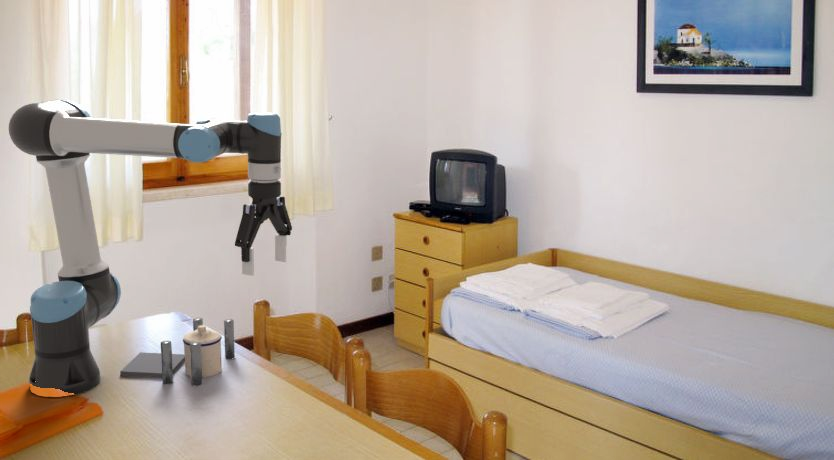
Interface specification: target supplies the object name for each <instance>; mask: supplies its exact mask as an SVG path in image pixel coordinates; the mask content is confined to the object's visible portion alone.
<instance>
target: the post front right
mask: <svg viewBox="0 0 834 460" xmlns="http://www.w3.org/2000/svg"><path fill="white" fill-rule="evenodd" d="M190 356H191V376H190V377H191V386H194V387H198V386H201V385H202V384H203V378H202V364H201V343H200V342H193V343H190Z"/></svg>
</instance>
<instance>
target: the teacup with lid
mask: <svg viewBox="0 0 834 460" xmlns="http://www.w3.org/2000/svg"><path fill="white" fill-rule="evenodd" d="M182 342H183V349H184V354H185V362H184V370H185V374H186V375H187V376H188V377H191V356H190V343H193V342H200V343H201V364H202V379H205V378H209V377H213V376H216V375H218V374H219V373H220V372H221V371H222V369H223V368H222V365H223V364H222V343H221V342H222V334H221V333H220V332H218V331H217V330H213V329H209V328H207V326H206V325H204V324H203V325H200V326H198V329H197V330H195V331H193V330H192V331H190V332H188V333H186V334H184V336H183V338H182Z"/></svg>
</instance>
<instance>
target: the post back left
mask: <svg viewBox="0 0 834 460" xmlns="http://www.w3.org/2000/svg"><path fill="white" fill-rule="evenodd" d="M200 325H204V321H203V318H202V317H194V318H193V319H192V331H195V330H197V329H198V326H200Z"/></svg>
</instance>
